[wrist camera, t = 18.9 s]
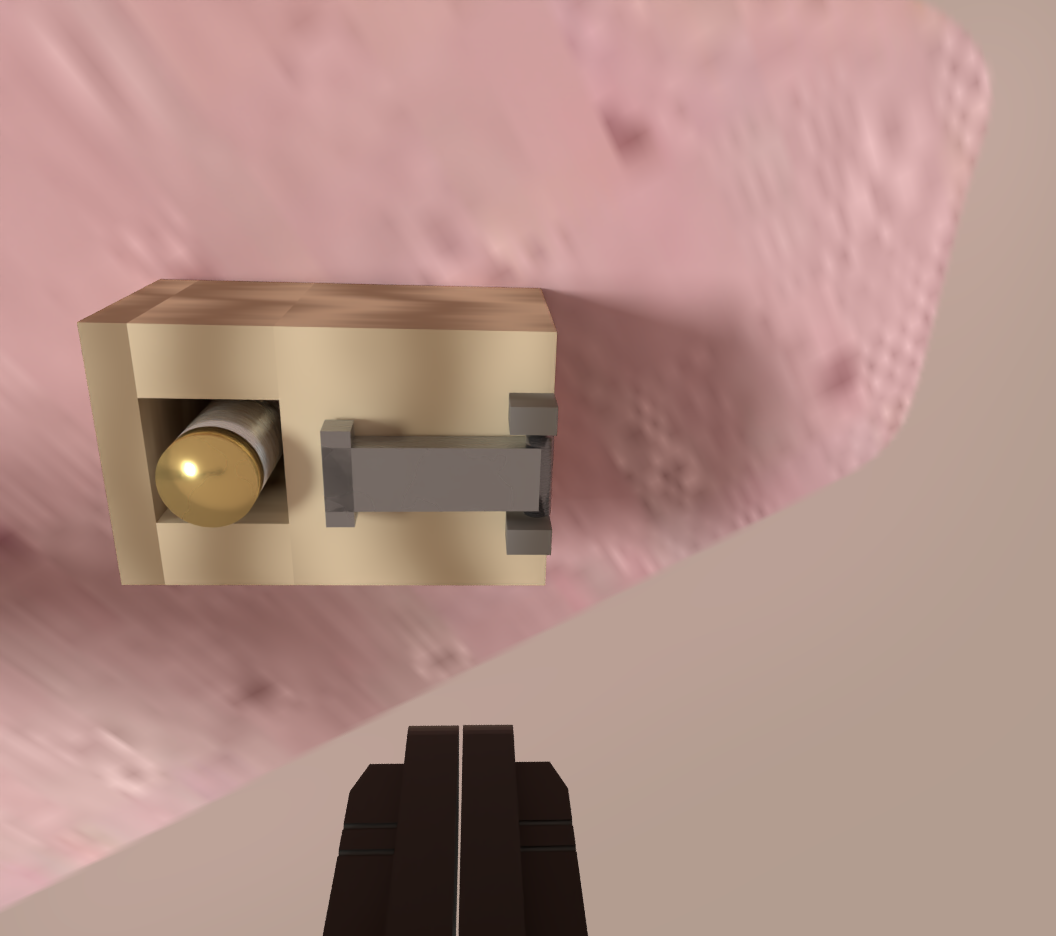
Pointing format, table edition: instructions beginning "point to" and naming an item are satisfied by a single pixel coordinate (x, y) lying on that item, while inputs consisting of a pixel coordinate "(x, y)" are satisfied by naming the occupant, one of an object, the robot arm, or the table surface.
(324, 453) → the grey handle
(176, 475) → the pin
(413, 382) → the block
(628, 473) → the table surface
